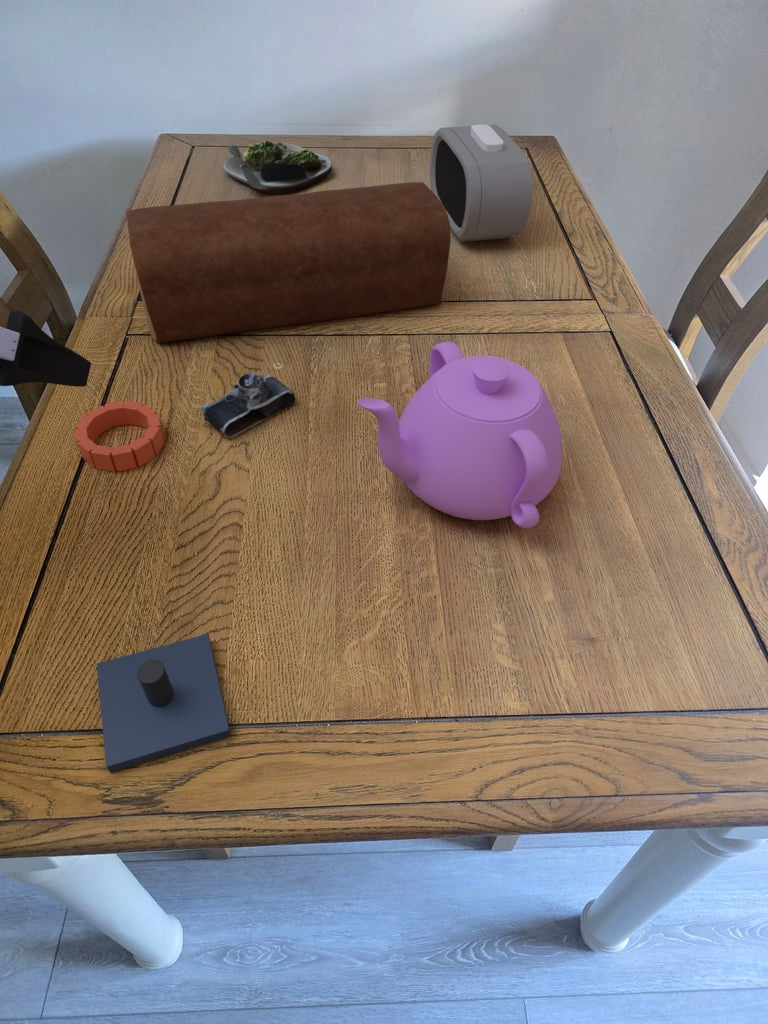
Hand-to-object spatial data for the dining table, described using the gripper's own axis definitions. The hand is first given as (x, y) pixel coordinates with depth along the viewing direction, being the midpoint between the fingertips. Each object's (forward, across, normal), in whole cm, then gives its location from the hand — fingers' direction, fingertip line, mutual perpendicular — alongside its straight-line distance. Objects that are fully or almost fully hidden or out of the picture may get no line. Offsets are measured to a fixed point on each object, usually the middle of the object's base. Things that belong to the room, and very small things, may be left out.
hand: (62, 371), depth 60 cm
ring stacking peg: (+6, -14, +24) cm, 29 cm away
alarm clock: (+63, +6, -43) cm, 76 cm away
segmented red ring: (+13, +10, +5) cm, 17 cm away
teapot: (+33, -20, +1) cm, 38 cm away
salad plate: (+50, +39, -48) cm, 80 cm away
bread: (+36, +13, -20) cm, 44 cm away
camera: (+24, +3, -2) cm, 24 cm away
